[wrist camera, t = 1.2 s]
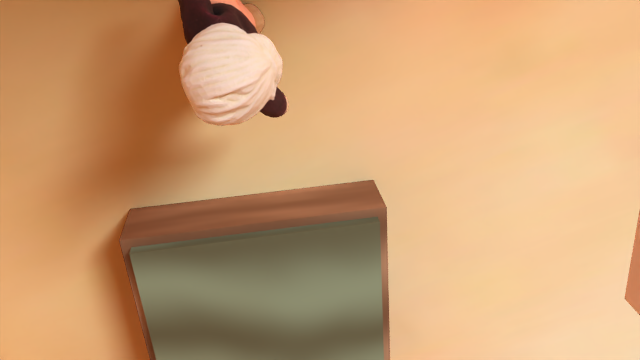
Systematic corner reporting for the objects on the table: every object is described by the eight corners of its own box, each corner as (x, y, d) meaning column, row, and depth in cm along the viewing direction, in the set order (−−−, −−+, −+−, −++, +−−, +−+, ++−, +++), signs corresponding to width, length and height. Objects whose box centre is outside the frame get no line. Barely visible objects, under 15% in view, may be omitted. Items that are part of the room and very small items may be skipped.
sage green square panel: (130, 209, 33) (117, 246, 29) (373, 180, 34) (389, 212, 31) (174, 391, 39) (168, 440, 36) (379, 361, 40) (393, 406, 37)
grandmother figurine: (143, -15, 28) (79, 43, 17) (199, -73, 27) (171, -54, 16) (256, 96, 31) (265, 208, 20) (309, 47, 30) (351, 134, 19)
